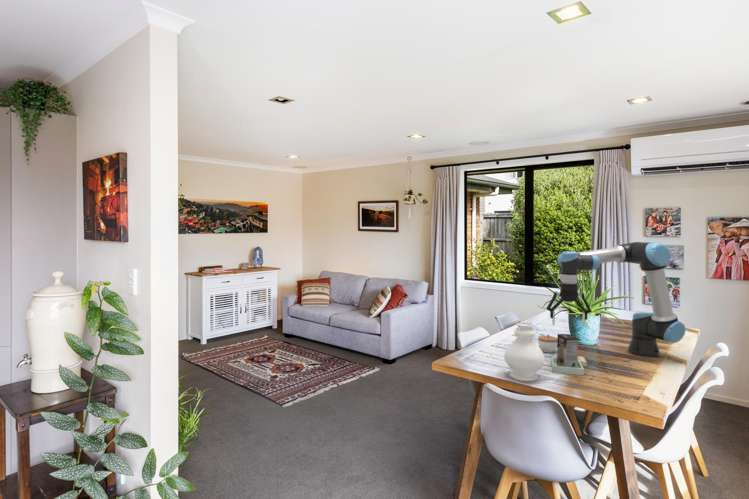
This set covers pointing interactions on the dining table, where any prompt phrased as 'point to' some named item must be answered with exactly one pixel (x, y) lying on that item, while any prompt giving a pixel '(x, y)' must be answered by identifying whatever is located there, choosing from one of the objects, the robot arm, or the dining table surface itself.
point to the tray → (567, 368)
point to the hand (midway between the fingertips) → (568, 325)
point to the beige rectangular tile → (582, 360)
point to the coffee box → (567, 350)
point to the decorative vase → (524, 354)
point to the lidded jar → (547, 343)
